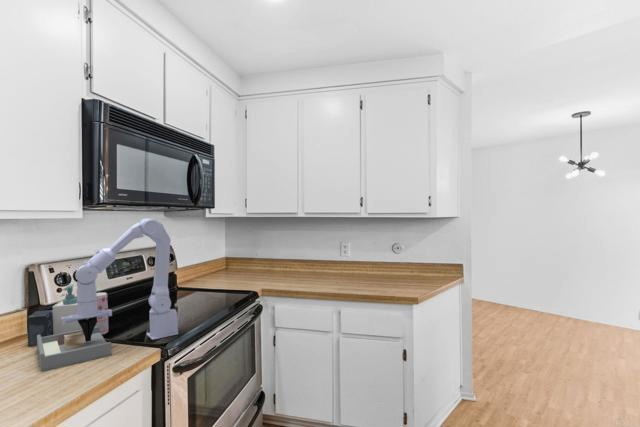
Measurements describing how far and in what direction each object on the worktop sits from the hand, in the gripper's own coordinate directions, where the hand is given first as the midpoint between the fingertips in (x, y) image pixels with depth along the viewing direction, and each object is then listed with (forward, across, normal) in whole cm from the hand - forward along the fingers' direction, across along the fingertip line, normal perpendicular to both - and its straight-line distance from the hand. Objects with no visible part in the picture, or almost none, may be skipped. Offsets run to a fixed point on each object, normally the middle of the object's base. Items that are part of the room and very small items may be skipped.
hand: (88, 340), depth 128 cm
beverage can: (+3, -6, -16) cm, 17 cm away
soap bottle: (+3, +3, -19) cm, 19 cm away
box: (+3, +12, -19) cm, 23 cm away
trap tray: (+3, +4, 0) cm, 5 cm away
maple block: (+1, +4, 0) cm, 4 cm away
